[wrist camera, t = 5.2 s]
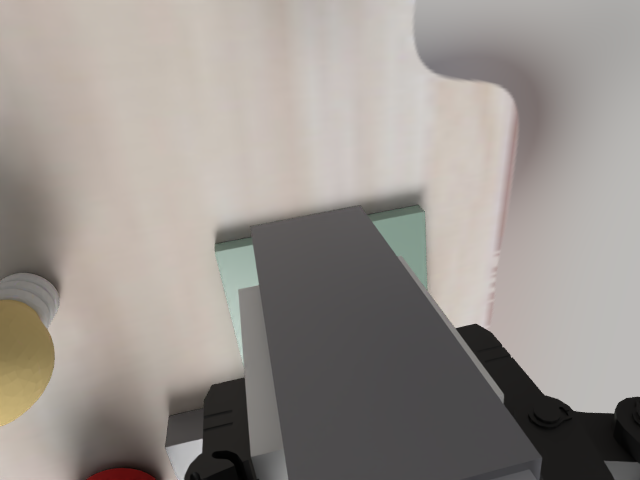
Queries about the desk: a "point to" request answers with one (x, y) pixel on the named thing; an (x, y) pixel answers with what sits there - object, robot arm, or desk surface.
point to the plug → (372, 364)
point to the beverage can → (121, 475)
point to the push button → (184, 440)
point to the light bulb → (25, 341)
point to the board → (395, 225)
